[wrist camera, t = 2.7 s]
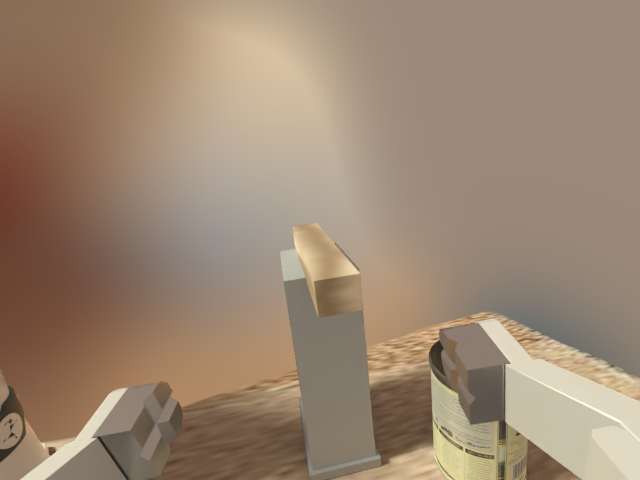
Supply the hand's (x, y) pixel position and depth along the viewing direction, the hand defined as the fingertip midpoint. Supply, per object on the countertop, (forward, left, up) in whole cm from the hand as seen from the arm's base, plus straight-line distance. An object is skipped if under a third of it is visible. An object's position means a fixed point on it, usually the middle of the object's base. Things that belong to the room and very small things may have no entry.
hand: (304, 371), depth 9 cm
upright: (+4, +28, -31) cm, 42 cm away
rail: (+4, +24, -5) cm, 25 cm away
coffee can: (+20, +20, -32) cm, 42 cm away
